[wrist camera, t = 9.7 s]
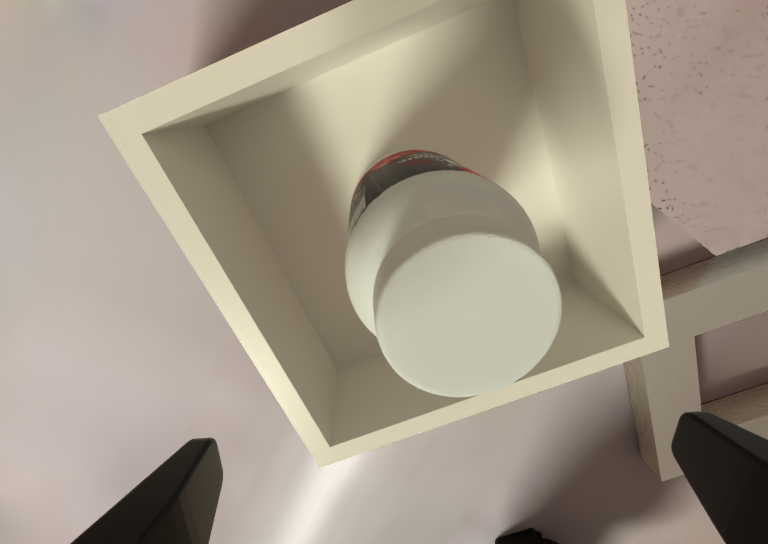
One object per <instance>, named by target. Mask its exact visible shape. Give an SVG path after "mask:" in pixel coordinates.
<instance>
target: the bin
mask: <svg viewBox="0 0 768 544" xmlns="http://www.w3.org/2000/svg"><path fill="white" fill-rule="evenodd" d="M98 118H99V120H100V121H101V123H102V124H103V126H104V127H105V129H106V131H107V132H108V134H109V135H110V137H111V138H112V140H113V142H114V143H115V145H116V146H117V148H118V150H119V151H120V153H121V154H122V156H123V157H124V159H125V161H126V162H127V164H128V165H129V167H130V168H131V170H132V172H133V173H134V175H135V176H136V178H137V180H138V181H139V183H140V184H141V186H142V187H143V189H144V191H145V192H146V194H147V195H148V197H149V198H150V200H151V202H152V203H153V205H154V206H155V208H156V210H157V211H158V213H159V214H160V216H161V217H162V219H163V221H164V222H165V224H166V225H167V227H168V228H169V230H170V232H171V233H172V235H173V236H174V238H175V240H176V241H177V243H178V244H179V246H180V247H181V249H182V251H183V252H184V254H185V255H186V257H187V258H188V260H189V262H190V263H191V265H192V266H193V268H194V270H195V271H196V273H197V274H198V276H199V277H200V279H201V281H202V282H203V284H204V285H205V287H206V289H207V290H208V292H209V293H210V295H211V296H212V298H213V300H214V301H215V303H216V304H217V306H218V307H219V309H220V311H221V312H222V314H223V315H224V317H225V319H226V320H227V322H228V323H229V325H230V326H231V328H232V330H233V331H234V333H235V334H236V336H237V337H238V339H239V341H240V342H241V344H242V345H243V347H244V349H245V350H246V352H247V353H248V355H249V356H250V358H251V360H252V361H253V363H254V364H255V366H256V367H257V369H258V371H259V372H260V374H261V375H262V377H263V379H264V380H265V382H266V383H267V385H268V386H269V388H270V390H271V391H272V393H273V394H274V396H275V397H276V399H277V401H278V402H279V404H280V405H281V407H282V409H283V410H284V412H285V413H286V415H287V416H288V418H289V420H290V421H291V423H292V424H293V426H294V427H295V429H296V431H297V432H298V434H299V435H300V437H301V439H302V440H303V442H304V443H305V445H306V446H307V448H308V450H309V451H310V453H311V454H312V456H313V457H314V459H315V461H316V462H317V464H318V465H319V467H323V466H326V465H329V464H332V463H335V462H337V461H340V460H343V459H346V458H349V457H352V456H355V455H358V454H361V453H363V452H366V451H369V450H372V449H375V448H378V447H381V446H384V445H387V444H390V443H392V442H395V441H398V440H401V439H404V438H407V437H410V436H413V435H416V434H418V433H421V432H424V431H427V430H430V429H433V428H436V427H439V426H442V425H444V424H447V423H450V422H453V421H456V420H459V419H462V418H465V417H468V416H471V415H473V414H476V413H479V412H482V411H485V410H488V409H491V408H494V407H497V406H499V405H502V404H505V403H508V402H511V401H514V400H517V399H520V398H523V397H526V396H528V395H531V394H534V393H537V392H540V391H543V390H546V389H549V388H552V387H554V386H557V385H560V384H563V383H566V382H569V381H572V380H575V379H578V378H581V377H583V376H586V375H589V374H592V373H595V372H598V371H601V370H604V369H607V368H609V367H612V366H615V365H618V364H621V363H624V362H627V361H630V360H633V359H635V358H638V357H641V356H644V355H647V354H650V353H653V352H656V351H659V350H662V349H664V348H667V347H669V342H668V334H667V326H666V318H665V310H664V303H663V295H662V287H661V279H660V271H659V263H658V255H657V247H656V240H655V232H654V224H653V216H652V208H651V200H650V192H649V184H648V177H647V169H646V161H645V153H644V145H643V137H642V129H641V121H640V114H639V106H638V98H637V90H636V82H635V74H634V66H633V58H632V51H631V43H630V35H629V27H628V19H627V11H626V3H625V0H352V1H350V2H348V3H346V4H344V5H341V6H339V7H337V8H335V9H333V10H330V11H328V12H326V13H324V14H321V15H319V16H317V17H315V18H313V19H310V20H308V21H306V22H304V23H302V24H299V25H297V26H295V27H293V28H291V29H288V30H286V31H284V32H282V33H280V34H277V35H275V36H273V37H271V38H269V39H266V40H264V41H262V42H260V43H258V44H255V45H253V46H251V47H249V48H247V49H244V50H242V51H240V52H238V53H236V54H233V55H231V56H229V57H227V58H225V59H222V60H220V61H218V62H216V63H214V64H211V65H209V66H207V67H205V68H202V69H200V70H198V71H196V72H194V73H191V74H189V75H187V76H185V77H183V78H180V79H178V80H176V81H174V82H172V83H169V84H167V85H165V86H163V87H161V88H158V89H156V90H154V91H152V92H150V93H147V94H145V95H143V96H141V97H139V98H136V99H134V100H132V101H130V102H128V103H125V104H123V105H121V106H119V107H117V108H114V109H112V110H110V111H108V112H106V113H103V114H101V115H99V116H98ZM407 149H425V150H430V151H434V152H437V153H440V154H442V155H445V156H447V157H449V158H450V159H452V160H454V161H456V162H457V163H459V164H461V165H462V166H464V167H466V168H468V169H470V170H472V171H474V172H476V173H478V174H479V175H481V176H483V177H485V178H487V179H489V180H491V181H492V182H494V183H496V184H497V185H499V186H500V187H501V188H503V189H504V190H506V191H507V192H508V193H509V194H511V195H512V196H513V197H514V198H515V199H516V200H517V202H518V203H519V204H520V205H521V206H522V208H523V209H524V210H525V212H526V213H527V215H528V217H529V218H530V220H531V222H532V224H533V227H534V229H535V232H536V235H537V238H538V242H539V248H540V253H541V254H542V255H543V256H544V258H545V259H546V260H547V261H548V263H549V264H550V265H551V267H552V269H553V271H554V273H555V275H556V277H557V279H558V282H559V285H560V289H561V294H562V316H561V321H560V326H559V329H558V332H557V334H556V336H555V339H554V341H553V343H552V345H551V346H550V348H549V350H548V351H547V353H546V354H545V355H544V357H543V358H542V359H541V360H540V361H539V363H538V364H537V365H536V366H535V367H534V368H533V369H532V370H531V371H529V372H528V373H527V374H526V375H524V376H523V377H521V378H520V379H518V380H517V381H515V382H514V383H512V384H510V385H508V386H506V387H504V388H502V389H499V390H496V391H494V392H490V393H487V394H482V395H478V396H470V397H448V396H442V395H437V394H432V393H429V392H426V391H424V390H421V389H419V388H417V387H415V386H413V385H412V384H410V383H408V382H407V381H405V380H404V379H403V378H402V377H401V376H399V375H398V374H397V373H396V371H395V370H394V369H393V368H392V367H391V365H390V364H389V363H388V361H387V360H386V358H385V356H384V355H383V352H382V350H381V347H380V345H379V342H378V339H377V337H376V336H375V335H374V334H373V333H372V332H371V331H370V330H369V329H368V328H367V327H366V326H365V325H364V323H363V322H362V321H361V319H360V318H359V316H358V315H357V313H356V311H355V309H354V307H353V305H352V302H351V300H350V297H349V293H348V290H347V284H346V277H345V271H344V266H345V253H346V248H347V237H348V226H349V214H350V205H351V200H352V196H353V193H354V190H355V188H356V186H357V184H358V182H359V180H360V179H361V177H362V176H363V174H364V173H365V172H366V171H367V170H368V169H369V168H370V167H371V166H372V165H373V164H374V163H375V162H377V161H378V160H380V159H381V158H383V157H385V156H387V155H389V154H391V153H394V152H397V151H401V150H407Z"/></svg>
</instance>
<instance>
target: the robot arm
mask: <svg viewBox="0 0 768 544" xmlns="http://www.w3.org/2000/svg"><path fill="white" fill-rule="evenodd" d="M671 450H672V453H673V456H674V458H675V460H676V462H677V463H678V465H679V467H680V468H681V470H682V472H683V473H684V475H685V477H686V478H687V480H688V482H689V484H690V485H691V487H692V489H693V490H694V492H695V494H696V495H697V497H698V499H699V501H700V502H701V504H702V506H703V507H704V509H705V511H706V512H707V514H708V516H709V517H710V519H711V521H712V523H713V524H714V526H715V527H716V529H717V531H718V532H719V534H720V536H721V537H722V539H723V540H724V542H725V543H726V544H768V440H767V439H765V438H763V437H761V436H759V435H757V434H754V433H752V432H750V431H748V430H746V429H744V428H742V427H739V426H737V425H735V424H733V423H731V422H729V421H727V420H724V419H722V418H720V417H718V416H716V415H714V414H712V413H709V412H706V411H694V412H685V413H683V414H682V415H681V416H680V418H679V421H678V424H677V427H676V430H675V433H674V436H673V439H672V442H671ZM222 482H223V469H222V464H221V460H220V455H219V451H218V447H217V443H216V441H215V439H213V438H198V439H192V440H190V441H188V442H187V443H186V444H185V445H184V446H182V447H181V448H180V449H179V450H178V451H177V452H175V453H174V454H173V455H172V456H171V457H170V458H169V459H167V460H166V461H165V462H164V463H163V464H162V465H160V466H159V467H158V468H157V469H156V470H155V471H154V472H152V473H151V474H150V475H149V476H148V477H147V478H145V479H144V480H143V481H142V482H141V483H140V484H139V485H137V486H136V487H135V488H134V489H133V490H132V491H130V492H129V493H128V494H127V495H126V496H125V497H124V498H122V499H121V500H120V501H119V502H118V503H117V504H115V505H114V506H113V507H112V508H111V509H110V510H109V511H107V512H106V513H105V514H104V515H103V516H102V517H100V518H99V519H98V520H97V521H96V522H95V523H94V524H92V525H91V526H90V527H89V528H88V529H87V530H85V531H84V532H83V533H82V534H81V535H80V536H79V537H77V538H76V539H75V540H74V541H73V542H72V543H70V544H209V539H210V535H211V530H212V526H213V522H214V517H215V513H216V509H217V504H218V500H219V496H220V491H221V487H222ZM495 544H558V543H557V542H555V541H553V540H550V539H546V538H543V536H542V534H541V532H536V531H535V529H533V528H530V529H527V530H524V531H520V532H517V533H514V534H511V535H508V536H504V537H501V538H498V539H496V541H495Z"/></svg>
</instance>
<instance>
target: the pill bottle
mask: <svg viewBox="0 0 768 544" xmlns="http://www.w3.org/2000/svg"><path fill="white" fill-rule="evenodd" d="M344 271H345V277H346V284H347V290H348V293H349V297H350V300H351V302H352V305H353V307H354V309H355V311H356V313H357V315H358V316H359V318H360V319H361V321H362V322H363V323H364V325H365V326H366V327H367V328H368V329H369V330H370V331H371V332H372V333H373V334H374V335H375V336H376V337H377V339H378V342H379V345H380V347H381V350H382V352H383V355H384V356H385V358H386V360H387V361H388V363H389V364H390V365H391V367H392V368H393V369H394V370H395V371H396V373H397V374H398V375H399V376H401V377H402V378H403V379H404V380H405V381H407V382H408V383H410V384H412V385H413V386H415V387H417V388H419V389H421V390H424V391H426V392H429V393H432V394H437V395H442V396H448V397H470V396H478V395H482V394H487V393H490V392H494V391H496V390H499V389H502V388H504V387H506V386H508V385H510V384H512V383H514V382H515V381H517V380H518V379H520V378H521V377H523V376H524V375H526V374H527V373H528V372H529V371H531V370H532V369H533V368H534V367H535V366H536V365H537V364H538V363H539V361H540V360H541V359H542V358H543V357H544V355H545V354H546V353H547V351H548V350H549V348H550V346H551V345H552V343H553V341H554V339H555V336H556V334H557V332H558V329H559V326H560V321H561V316H562V294H561V289H560V285H559V282H558V279H557V277H556V275H555V273H554V271H553V269H552V267H551V265H550V264H549V263H548V261H547V260H546V259H545V258H544V256H543V255H542V254H541V253H540V248H539V242H538V238H537V235H536V232H535V229H534V227H533V224H532V222H531V220H530V218H529V217H528V215H527V213H526V212H525V210H524V209H523V208H522V206H521V205H520V204H519V203H518V202H517V200H516V199H515V198H514V197H513V196H512V195H511V194H509V193H508V192H507V191H506V190H504V189H503V188H501V187H500V186H499V185H497V184H496V183H494V182H492V181H491V180H489V179H487V178H485V177H483V176H481V175H479V174H478V173H476V172H474V171H472V170H470V169H468V168H466V167H464V166H462V165H461V164H459V163H457V162H456V161H454V160H452V159H450V158H449V157H447V156H445V155H442V154H440V153H437V152H434V151H430V150H425V149H407V150H401V151H397V152H394V153H391V154H389V155H387V156H385V157H383V158H381V159H380V160H378V161H377V162H375V163H374V164H373V165H372V166H371V167H370V168H369V169H368V170H367V171H366V172H365V173H364V174H363V176H362V177H361V179H360V180H359V182H358V184H357V186H356V188H355V190H354V193H353V196H352V200H351V205H350V214H349V226H348V237H347V248H346V253H345V266H344Z"/></svg>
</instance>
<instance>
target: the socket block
mask: <svg viewBox="0 0 768 544" xmlns="http://www.w3.org/2000/svg"><path fill="white" fill-rule="evenodd" d="M660 279H661V287H662V295H663V303H664V310H665V318H666V326H667V334H668V342H669V347H667V348H664V349H662V350H659V351H656V352H653V353H650V354H647V355H644V356H641V357H638V358H635V359H633V360H630V361H627V362H624V366H625V372H626V377H627V382H628V388H629V393H630V399H631V404H632V410H633V415H634V420H635V426H636V431H637V437H638V442H639V448H640V453H641V457H642V458H643V460H644V461H645V462H646V463H647V464H648V466H649V467H650V468H651V469H652V471H653V472H654V473H655V474H656V476H657V477H658V478H659V479H660V481H661V482H663V481H666V480H669V479H672V478H676V477H679V476H682V475H684V473H683V472H682V470H681V468H680V467H679V465H678V463H677V462H676V460H675V458H674V456H673V453H672V450H671V442H672V439H673V436H674V433H675V430H676V427H677V424H678V421H679V418H680V416H681V415H682V414H683V413H685V412H694V411H706V412H709V413H712V414H714V415H716V416H718V417H720V418H722V419H724V420H727V421H729V422H731V423H733V424H735V425H737V426H739V427H742V428H744V429H746V430H748V431H750V432H752V433H754V434H757V435H759V436H761V437H763V438H765V439H767V440H768V383H766V384H763V385H760V386H757V387H754V388H751V389H748V390H745V391H742V392H739V393H736V394H733V395H730V396H727V397H724V398H721V399H718V400H715V401H712V402H709V403H706V404H703V405H701V400H700V390H699V379H698V369H697V358H696V348H695V337H694V336H696V335H699V334H702V333H705V332H708V331H711V330H714V329H717V328H720V327H722V326H725V325H728V324H731V323H734V322H737V321H740V320H743V319H746V318H748V317H751V316H754V315H757V314H760V313H763V312H766V311H768V238H765V239H762V240H760V241H757V242H754V243H751V244H748V245H746V246H743V247H740V248H737V249H735V250H732V251H729V252H726V253H724V254H721V255H718V256H715V257H713V258H710V259H707V260H704V261H701V262H699V263H696V264H693V265H690V266H688V267H685V268H682V269H679V270H677V271H674V272H671V273H668V274H666V275H663V276H660Z"/></svg>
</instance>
